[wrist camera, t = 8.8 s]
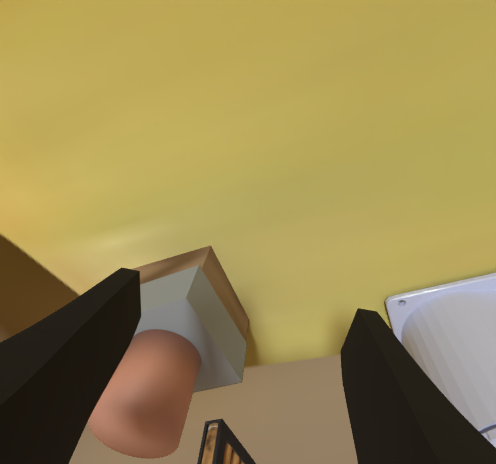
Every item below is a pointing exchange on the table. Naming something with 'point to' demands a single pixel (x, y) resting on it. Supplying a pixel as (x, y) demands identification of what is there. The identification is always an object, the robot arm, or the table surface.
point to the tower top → (196, 324)
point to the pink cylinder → (148, 396)
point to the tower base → (212, 272)
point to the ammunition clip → (221, 445)
